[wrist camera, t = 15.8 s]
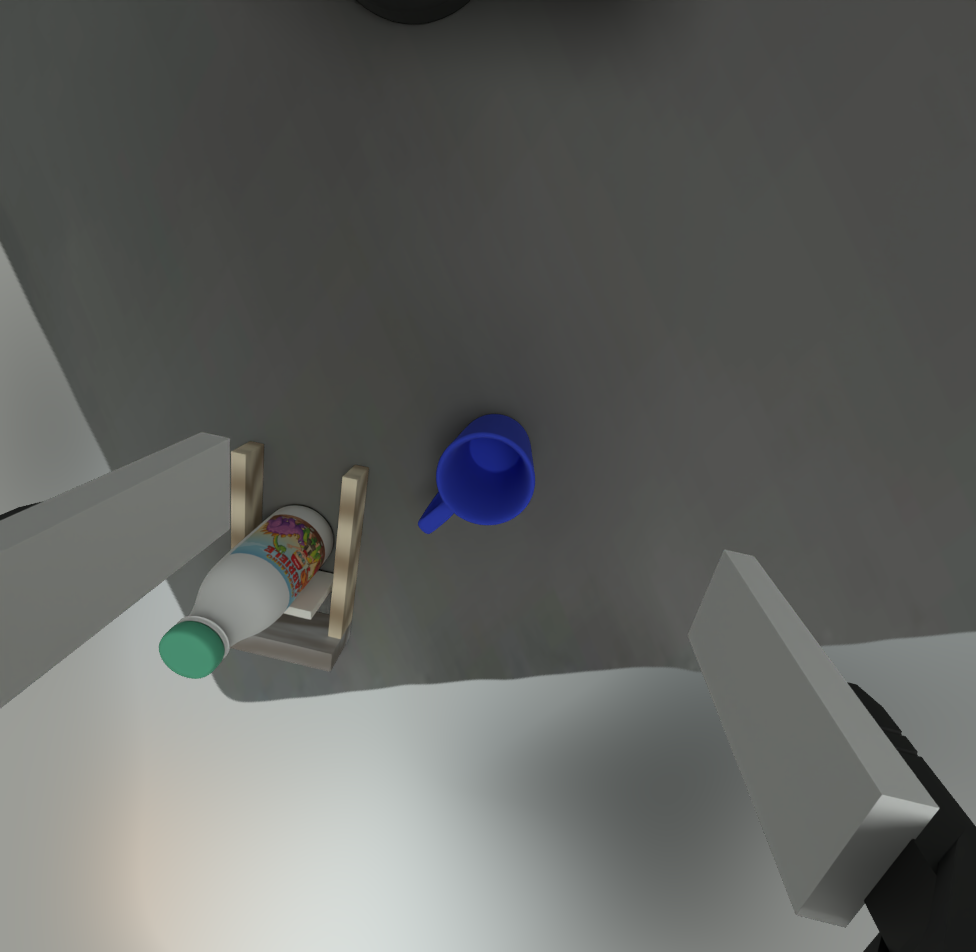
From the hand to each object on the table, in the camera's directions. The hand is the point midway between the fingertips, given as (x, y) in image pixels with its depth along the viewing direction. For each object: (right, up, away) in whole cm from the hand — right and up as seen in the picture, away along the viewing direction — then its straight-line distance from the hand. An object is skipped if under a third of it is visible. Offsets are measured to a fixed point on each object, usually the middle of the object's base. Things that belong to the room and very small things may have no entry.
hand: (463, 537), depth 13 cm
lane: (-20, -6, +45) cm, 49 cm away
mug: (0, +4, +38) cm, 39 cm away
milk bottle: (-20, -5, +44) cm, 49 cm away
